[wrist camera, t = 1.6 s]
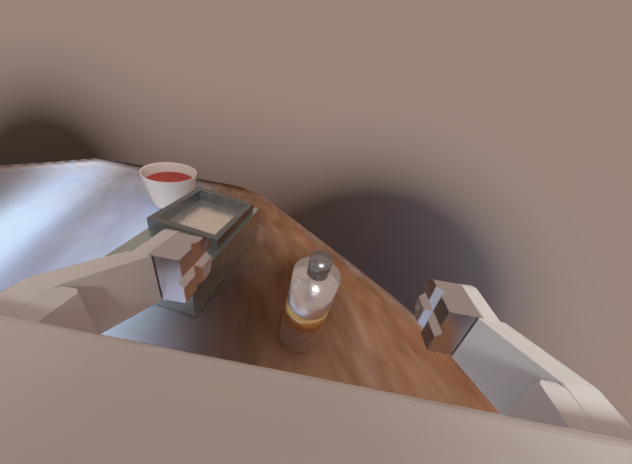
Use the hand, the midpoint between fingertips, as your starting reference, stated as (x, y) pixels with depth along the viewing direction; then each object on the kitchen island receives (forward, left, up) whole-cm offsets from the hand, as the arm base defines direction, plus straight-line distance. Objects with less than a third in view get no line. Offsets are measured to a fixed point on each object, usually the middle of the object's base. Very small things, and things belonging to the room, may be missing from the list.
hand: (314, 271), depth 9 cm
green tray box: (-17, +18, -21) cm, 33 cm away
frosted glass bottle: (0, +11, -21) cm, 24 cm away
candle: (-31, +30, -21) cm, 48 cm away
